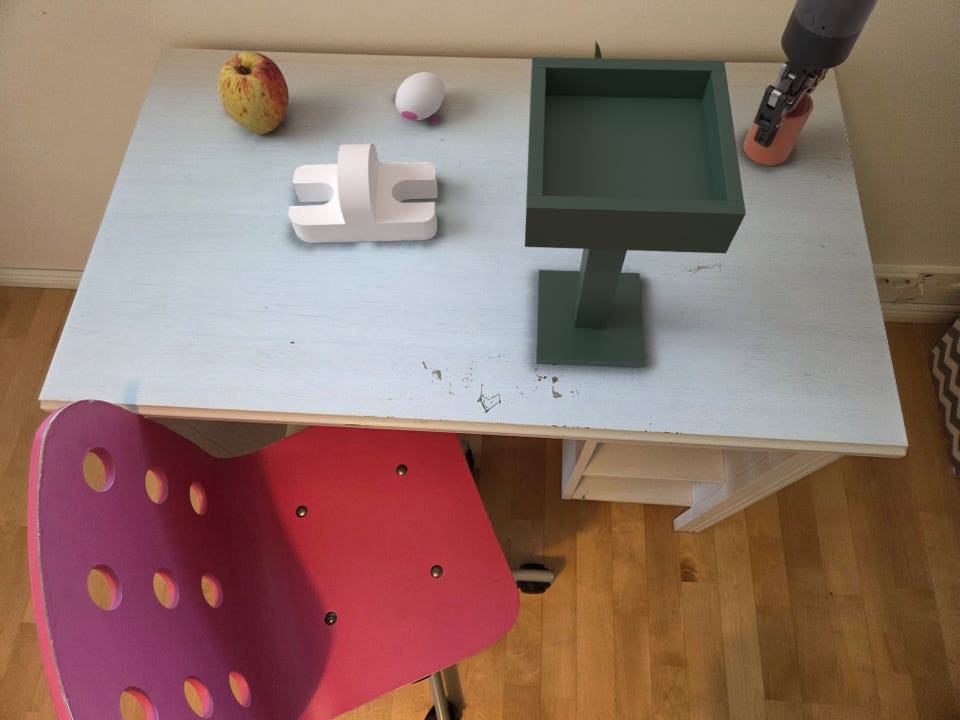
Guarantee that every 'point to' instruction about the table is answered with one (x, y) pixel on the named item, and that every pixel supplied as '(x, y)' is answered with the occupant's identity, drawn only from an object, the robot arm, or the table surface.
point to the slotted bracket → (364, 199)
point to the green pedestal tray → (623, 189)
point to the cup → (780, 135)
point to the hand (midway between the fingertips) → (776, 128)
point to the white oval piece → (420, 96)
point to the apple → (253, 91)
